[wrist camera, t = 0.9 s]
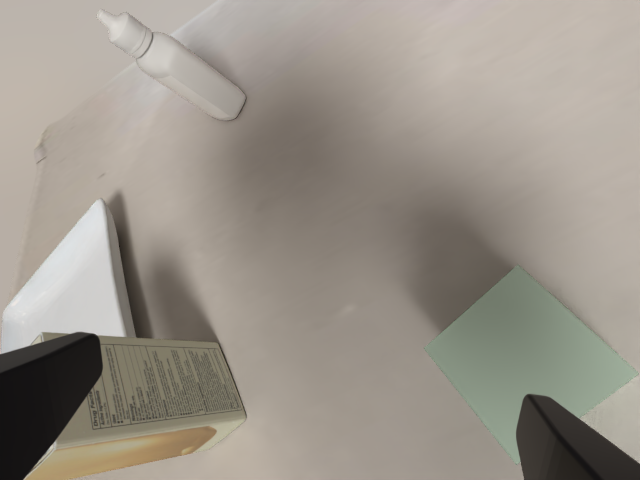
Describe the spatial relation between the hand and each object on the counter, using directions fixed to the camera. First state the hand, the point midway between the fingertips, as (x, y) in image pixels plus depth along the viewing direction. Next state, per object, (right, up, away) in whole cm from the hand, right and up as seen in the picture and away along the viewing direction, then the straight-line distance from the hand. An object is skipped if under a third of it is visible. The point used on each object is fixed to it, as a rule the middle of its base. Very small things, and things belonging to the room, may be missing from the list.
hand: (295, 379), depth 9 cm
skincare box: (-7, -8, +21) cm, 24 cm away
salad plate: (-23, -8, +33) cm, 41 cm away
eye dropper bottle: (-8, +15, +30) cm, 34 cm away
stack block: (+10, -3, +10) cm, 15 cm away
